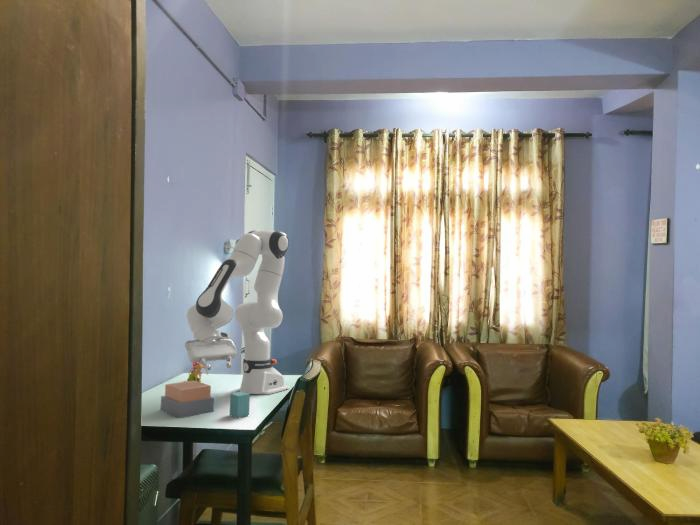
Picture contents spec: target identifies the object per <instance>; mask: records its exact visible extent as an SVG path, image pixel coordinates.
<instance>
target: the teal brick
mask: <svg viewBox="0 0 700 525" xmlns="http://www.w3.org/2000/svg"><path fill="white" fill-rule="evenodd" d="M250 396H251V394H248V393H245V392H240V391H238V392H232V393H230V401H229V416H230V415H232V416H231V417H233V416H234V417H233V418H235V417H237V418H236V419H240V418H239V417H241V418H245V417H244V416H246V417H249V416H250ZM248 415H249V416H248Z"/></svg>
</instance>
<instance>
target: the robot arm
mask: <svg viewBox="0 0 700 525" xmlns="http://www.w3.org/2000/svg"><path fill="white" fill-rule="evenodd" d="M289 245H290V241H289V237H288V235H287V234H286V233H285V232H283V231H281V230H271V229H264V230H262V229H261V230H251V231H248V232H247V233H244V234H242V236H241V237H239V240H238V241H237V242H236V244H235V246H234V247H233V250H232V251H231V254H230V256H229V257H228V258H227V259H226V260H224V261H223V262H222V263H221V264H220V266H219V268H218V269H217V271H216V272H215V274H214V275H213V277H212V279H210V282H209V283H208V285H207V287H206V288H205V289H204V291H202V292H201V294H199V296H198V298H197V300H196V302H195V304H194V305H192V306H191V307H190V308H188V310H187V313H186V319H187V323H188V326H189V328H190V331H191V332H192V333H193V340H187V341H185V343H184V348H186V353H187V358H188V359H189V362H191V363H193V362H197V363H199V362H200V364H201V365H202V366H204V367H205V371H206V370H207V371H210V370H211V368H212V366H211V364H210V363H208V362H213V361H225V360H226V362H227V363H226V364H225V366H226V368H227V369H231V368H232V367H233V363H232V360H234V359H235V358H236V357H237V355H238V349H237V347H236V344H235V343H234V341H233V340H232V339H230V338H231V336H230V334H229V333H227V332H223V331H220V330H217V329H220V328H222V327H224V326H226V325H228V324H229V323H231V321H232V319H233V318H234V317H235V320H236V322H238V324H239V326H240V328H241V332H242V336H243V341H244V343H243V344H244V356H243V357H244V358H242V359H243V361H242V370H243V371H242V379H241V383H240V387H239V390H238V392H245V393H248V394H250V395H272V394H275V393H278V392H282V391H287V390H289V389H290V387H289V385H288V384H285V380H284V379H285V378H284V376H283V374H282V373H281V372H279V370H277V369H276V368H274V367H273V365H277V363H278V361H277V359H275V358H273V359H271V358H270V357H271V356H270V351H271V350H270V349H271V342H270V339H269V338H268V337H267V335H266V333H265V330H270V329H276V328H278V327H279V326H280V325H281V324H282V322H283V317H284V316H283V315H284V314H283V311H282V310H281V308H280V305H279V299H278V298H279V296H278V295H279V290H280V286H281V282H282V277H283V274H284V269H285V255H286V253H287V251H288V249H289V247H290V246H289ZM260 255H261V258H262V259H261V262H260V264H259V267H258V271H257V274H256V278H255V281H254V284H253V290H254V291H255V292H256V294H257V299H256V300H257V301H256V302H253V301H252V302H251V301H249V302H243V303H240V304H239V305H238V306H236V309H235V312H234V309H233V307H232V306H231V305H230V304H228V302H226V301H225V300H224V299H223V298H222V294H223V292H224V290H225V288H226V286H227V285H228V283H229V282H230V280H231V279H232V278H233V277H239V278H242V277H243V278H245V277H247V276H249V275H250V274H251V273H252V272H253V270H254V269H255V266H256V263H257V262H258V259H259V256H260ZM264 329H265V330H264ZM286 389H287V390H286Z"/></svg>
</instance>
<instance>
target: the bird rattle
mask: <svg viewBox="0 0 700 525" xmlns="http://www.w3.org/2000/svg"><path fill="white" fill-rule="evenodd" d="M198 363H200V362H192V368H193V367H195V366H197V365H198ZM196 372H197V368H193V369H192V371H191V372H190V374H188V375H189V376H188V377H187V381H196V379H195V374H196ZM199 378H200V377H199V375H198V376H197V382H199ZM187 381H186V382H187ZM200 382H201V383H202V380H201V379H200Z"/></svg>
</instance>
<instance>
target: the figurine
mask: <svg viewBox="0 0 700 525" xmlns="http://www.w3.org/2000/svg"><path fill="white" fill-rule="evenodd" d="M197 364H198V365H197V366H195V367H194V366H192V368H191V369H190V370H189V372H188V375H190V374H191V372H192V370H193V368H197V372H196V374H195V379H196V381H197V376H198V377H199V382H200V380H201V379H202V378H201V377H202V374H203V371H202V369H205V367H204V366H202V365H201V364H200V363H199V362H197ZM208 371H209V370H206V369H205V372H206V374H207V375H209V372H208Z"/></svg>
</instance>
